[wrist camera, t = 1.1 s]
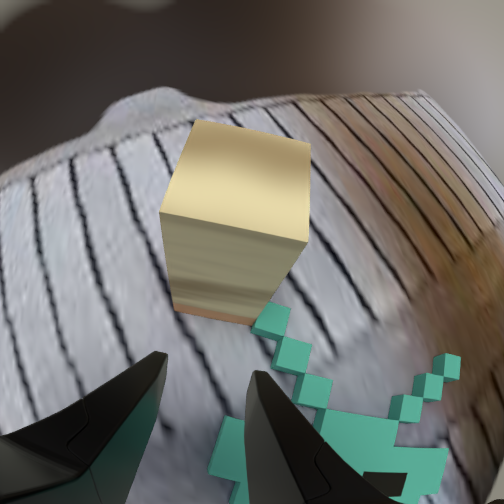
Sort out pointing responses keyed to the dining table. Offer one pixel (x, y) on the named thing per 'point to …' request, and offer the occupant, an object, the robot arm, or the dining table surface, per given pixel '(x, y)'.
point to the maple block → (234, 220)
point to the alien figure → (345, 423)
